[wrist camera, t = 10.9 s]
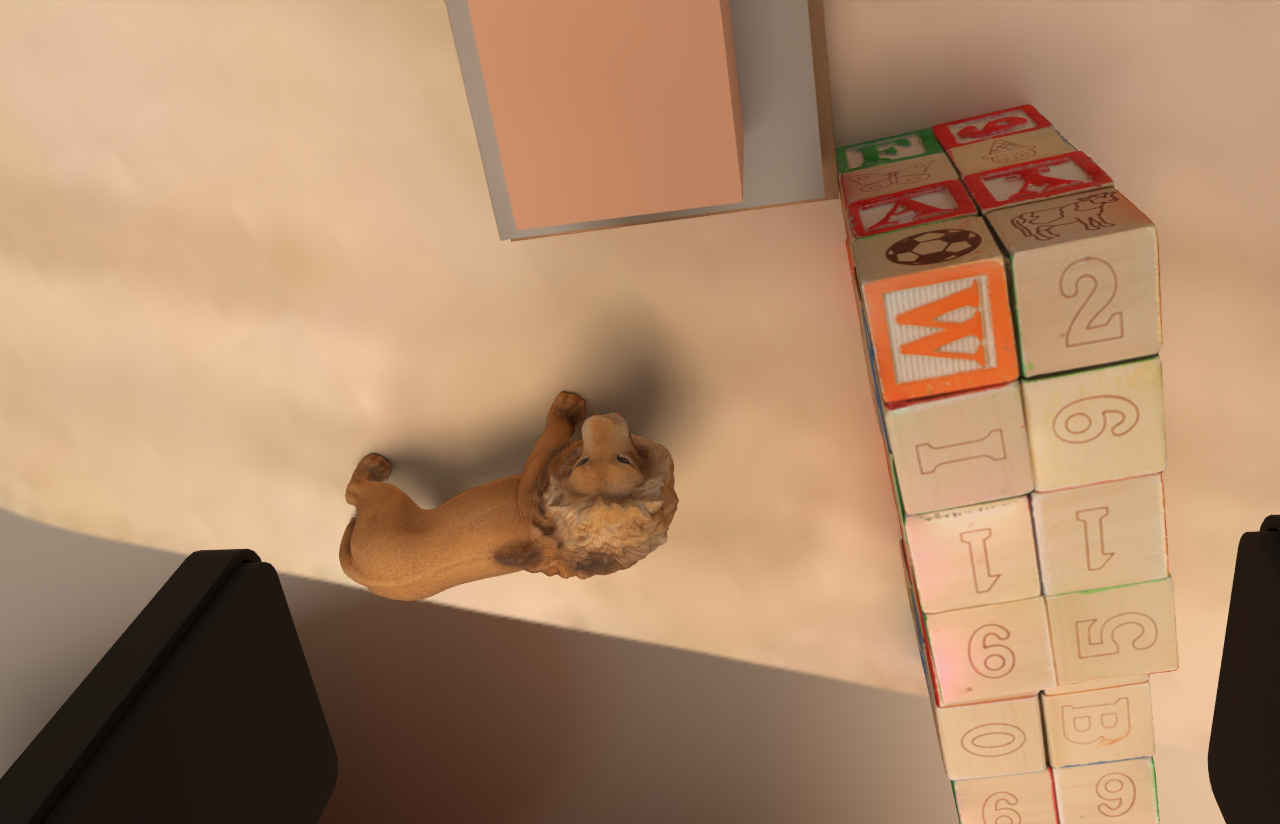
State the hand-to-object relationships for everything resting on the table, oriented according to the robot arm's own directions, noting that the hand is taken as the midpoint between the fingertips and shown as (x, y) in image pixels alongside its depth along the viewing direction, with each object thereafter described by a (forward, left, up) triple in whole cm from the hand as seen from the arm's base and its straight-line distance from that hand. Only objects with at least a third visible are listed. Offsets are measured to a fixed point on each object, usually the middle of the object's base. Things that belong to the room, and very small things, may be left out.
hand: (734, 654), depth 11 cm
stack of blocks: (-6, +12, -27) cm, 30 cm away
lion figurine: (+10, +11, -27) cm, 31 cm away
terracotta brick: (+2, -4, -20) cm, 21 cm away
